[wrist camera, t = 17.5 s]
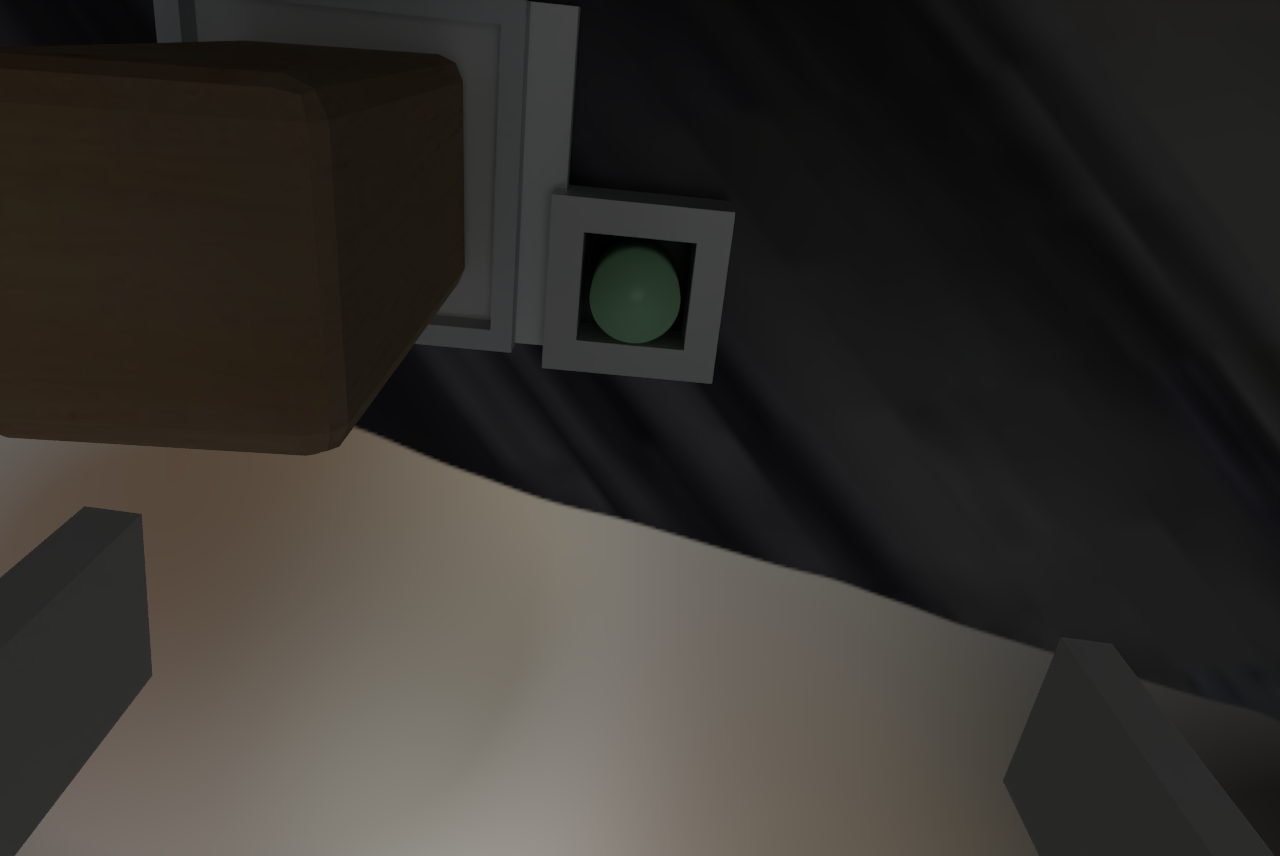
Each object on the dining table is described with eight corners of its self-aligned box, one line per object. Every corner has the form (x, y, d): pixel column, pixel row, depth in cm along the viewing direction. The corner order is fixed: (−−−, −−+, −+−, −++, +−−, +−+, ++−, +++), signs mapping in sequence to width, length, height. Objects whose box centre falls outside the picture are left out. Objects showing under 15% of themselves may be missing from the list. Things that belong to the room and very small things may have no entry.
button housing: (558, 183, 43) (552, 194, 40) (729, 200, 43) (735, 212, 40) (547, 347, 46) (541, 367, 43) (707, 362, 46) (711, 383, 43)
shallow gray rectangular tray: (180, -36, 39) (149, -41, 37) (580, 7, 40) (576, 6, 37) (210, 305, 45) (185, 322, 42) (558, 338, 46) (553, 356, 43)
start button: (596, 234, 43) (593, 250, 40) (682, 242, 43) (685, 259, 40) (590, 316, 44) (586, 338, 41) (672, 324, 44) (675, 347, 41)
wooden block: (230, 38, 39) (-136, 46, 21) (466, 55, 39) (312, 78, 21) (254, 270, 43) (-36, 449, 25) (468, 284, 43) (339, 471, 25)
